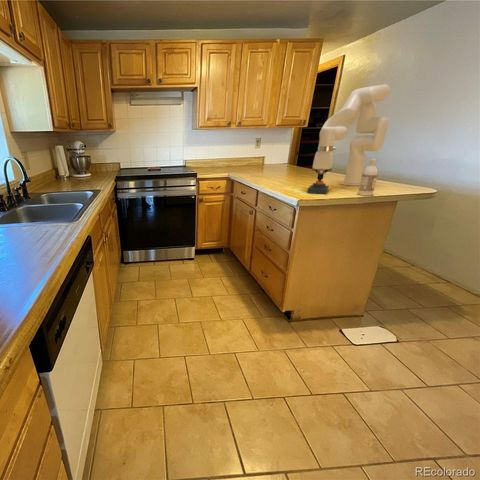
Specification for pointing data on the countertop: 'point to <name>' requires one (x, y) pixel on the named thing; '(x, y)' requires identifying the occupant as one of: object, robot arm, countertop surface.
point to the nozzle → (319, 182)
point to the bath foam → (368, 179)
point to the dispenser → (318, 188)
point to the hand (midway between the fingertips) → (319, 180)
